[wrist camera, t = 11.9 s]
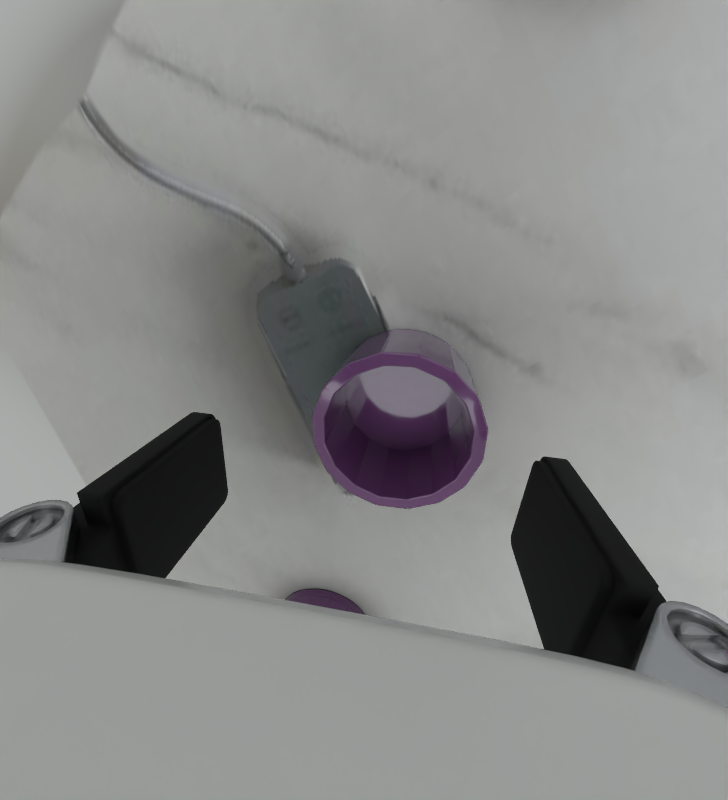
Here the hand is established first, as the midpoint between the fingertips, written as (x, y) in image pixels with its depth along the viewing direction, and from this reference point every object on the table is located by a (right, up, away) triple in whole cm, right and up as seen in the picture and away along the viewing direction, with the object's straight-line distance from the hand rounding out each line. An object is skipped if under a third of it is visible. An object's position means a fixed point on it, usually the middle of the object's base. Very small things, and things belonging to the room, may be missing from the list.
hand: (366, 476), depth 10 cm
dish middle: (+2, +3, +7) cm, 8 cm away
